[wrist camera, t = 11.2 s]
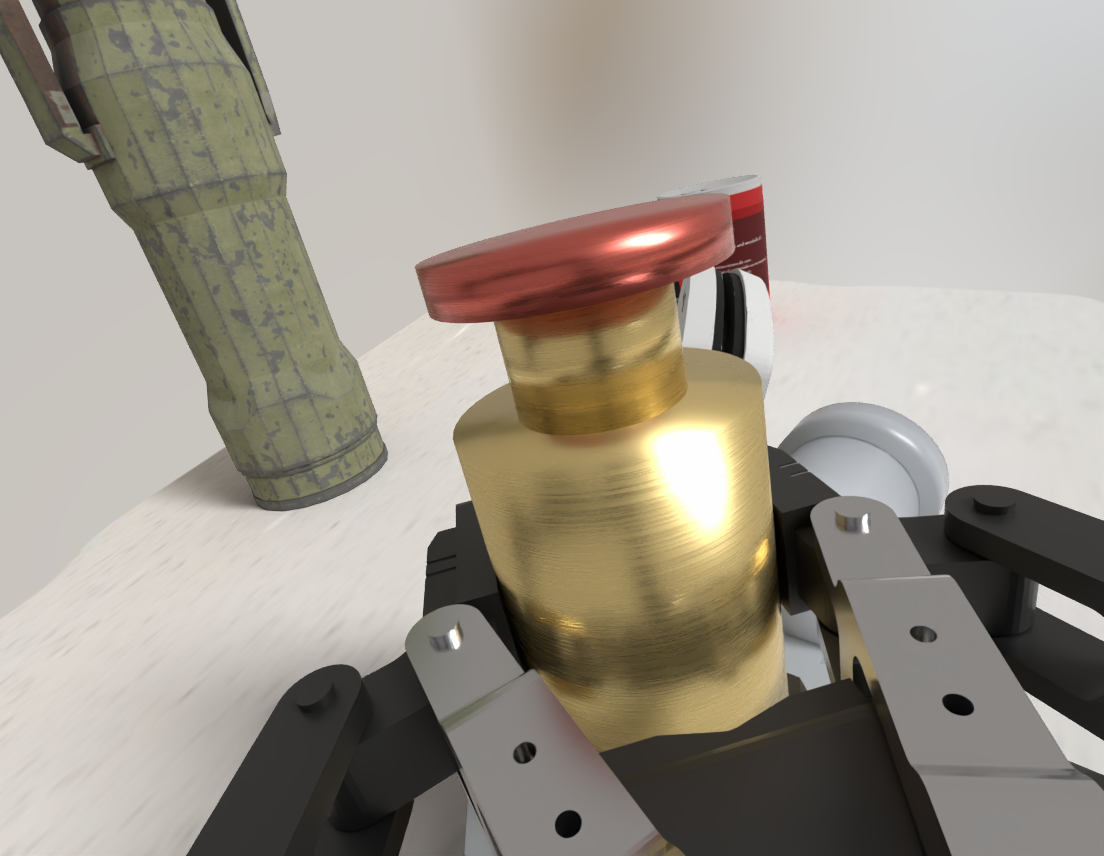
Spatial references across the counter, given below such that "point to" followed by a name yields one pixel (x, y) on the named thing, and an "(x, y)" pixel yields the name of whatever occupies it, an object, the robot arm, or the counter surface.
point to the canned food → (737, 224)
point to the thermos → (207, 222)
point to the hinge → (729, 317)
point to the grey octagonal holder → (851, 470)
